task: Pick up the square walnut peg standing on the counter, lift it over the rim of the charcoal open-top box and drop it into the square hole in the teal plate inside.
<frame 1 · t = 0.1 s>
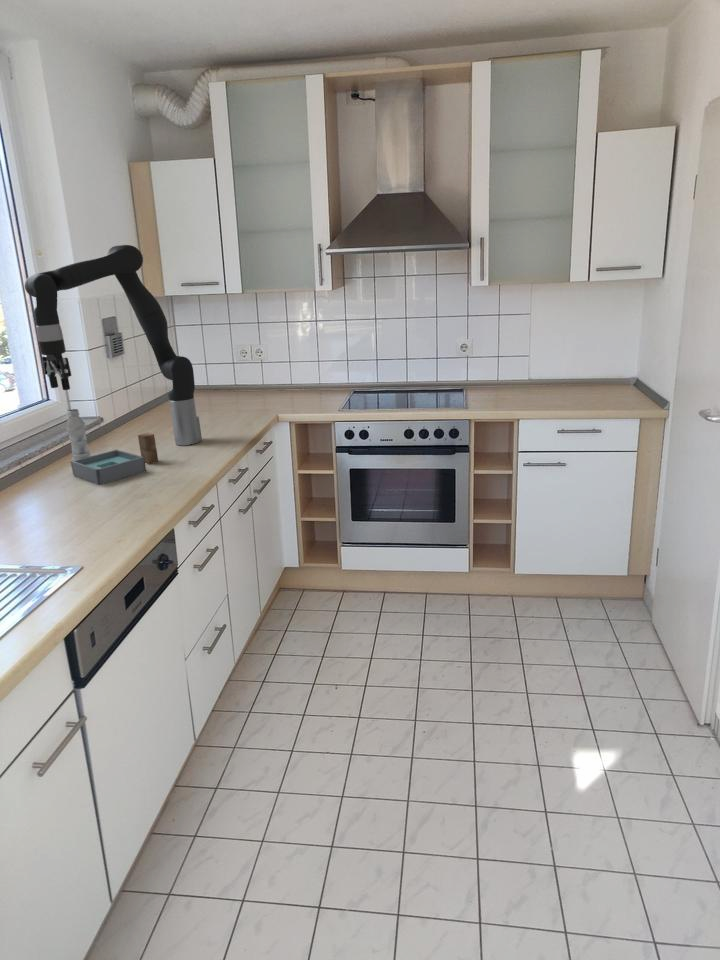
hand: (60, 388, 232), 29 cm above the countertop, tool pointing down, fingers open, 8 cm apart
plastic bottle: (83, 466, 250), on the countertop
peg: (150, 462, 249), on the countertop
box: (109, 473, 238), on the countertop
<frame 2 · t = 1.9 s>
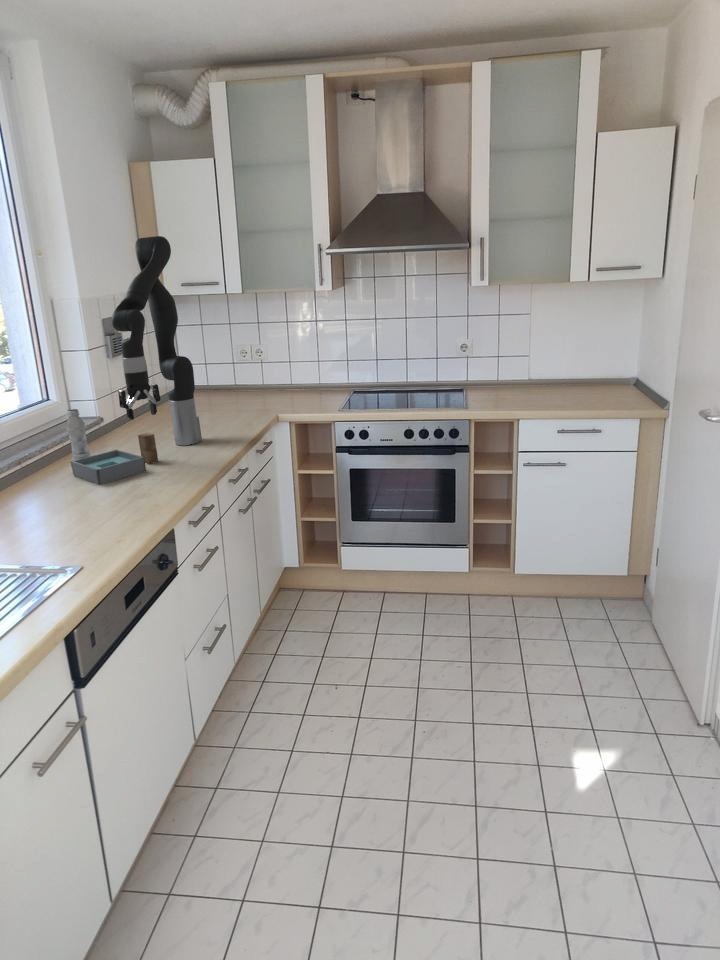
hand: (142, 416, 244), 16 cm above the countertop, tool pointing down, fingers open, 8 cm apart
nothing on the countertop moved.
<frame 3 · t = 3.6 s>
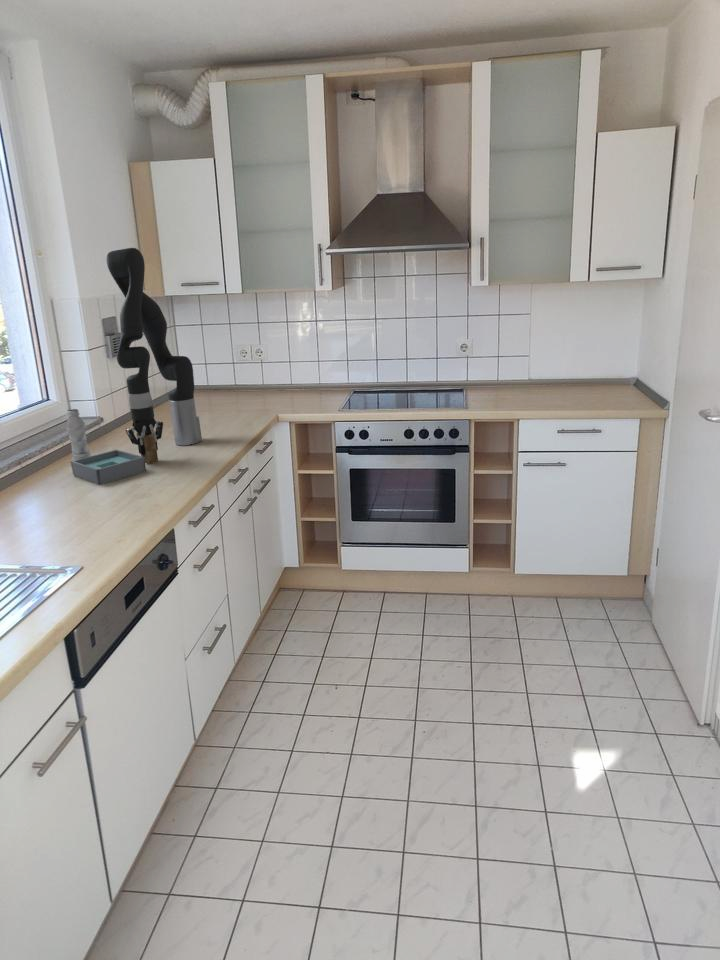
hand: (148, 453, 248), 3 cm above the countertop, tool pointing down, fingers closed on peg, 4 cm apart
peg: (150, 462, 249), on the countertop, touching gripper
everything else where it was.
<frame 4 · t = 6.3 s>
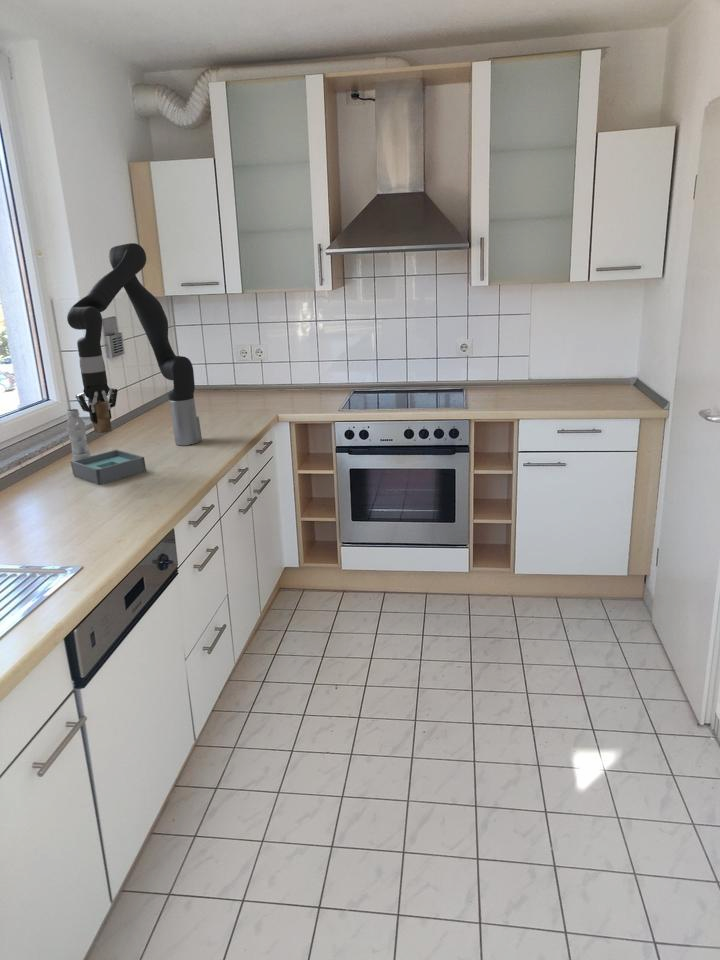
hand: (101, 421, 233), 18 cm above the countertop, tool pointing down, fingers closed on peg, 4 cm apart
peg: (103, 431, 234), point 15 cm above the countertop, touching gripper
everything else where it was.
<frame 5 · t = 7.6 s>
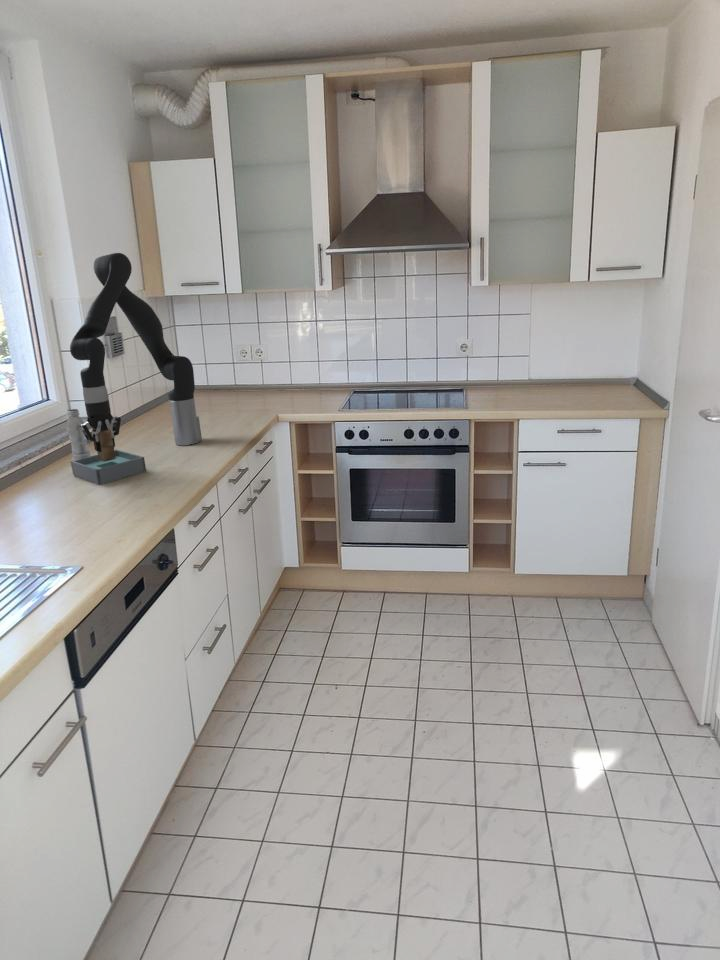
hand: (105, 450, 236), 8 cm above the countertop, tool pointing down, fingers closed on peg, 4 cm apart
peg: (107, 459, 237), point 5 cm above the countertop, touching gripper
everything else where it was.
when the fingers open (4 cm above the countertop, at t = 8.8 s): peg stays where it is, resting in box.
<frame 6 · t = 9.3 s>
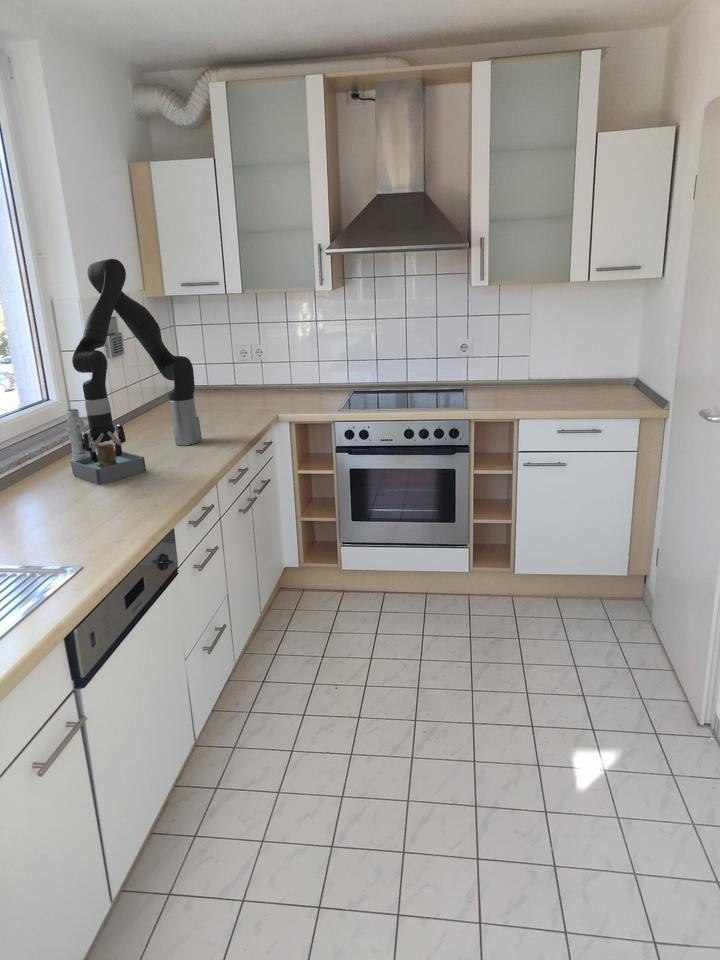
hand: (107, 459, 237), 5 cm above the countertop, tool pointing down, fingers open, 8 cm apart
peg: (109, 473, 238), resting in box
everything else where it was.
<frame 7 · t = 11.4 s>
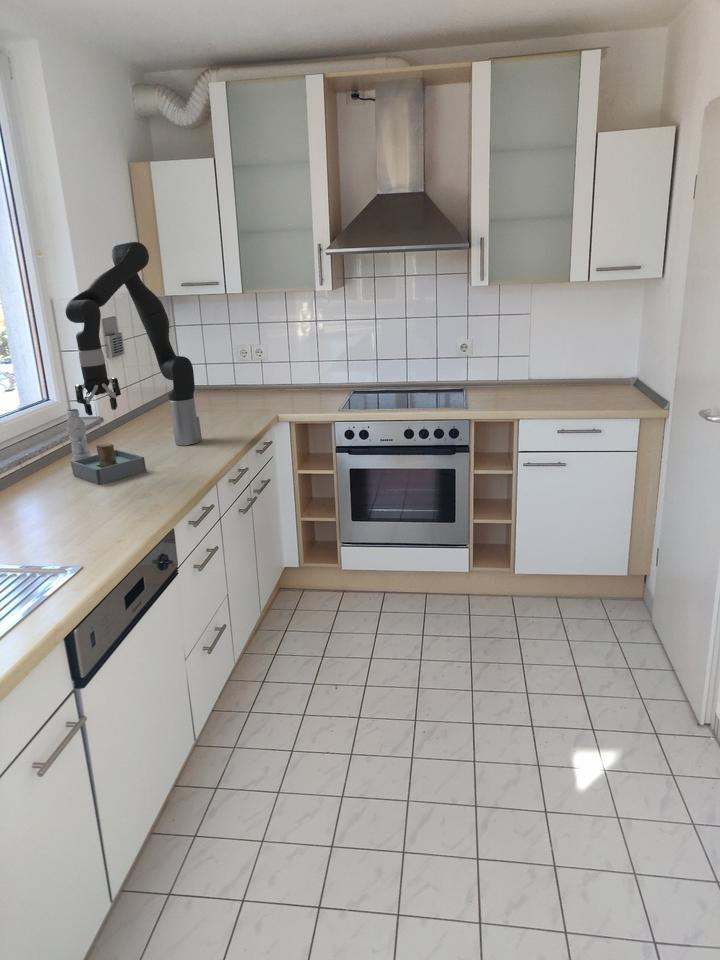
hand: (102, 412, 233), 21 cm above the countertop, tool pointing down, fingers open, 8 cm apart
nothing on the countertop moved.
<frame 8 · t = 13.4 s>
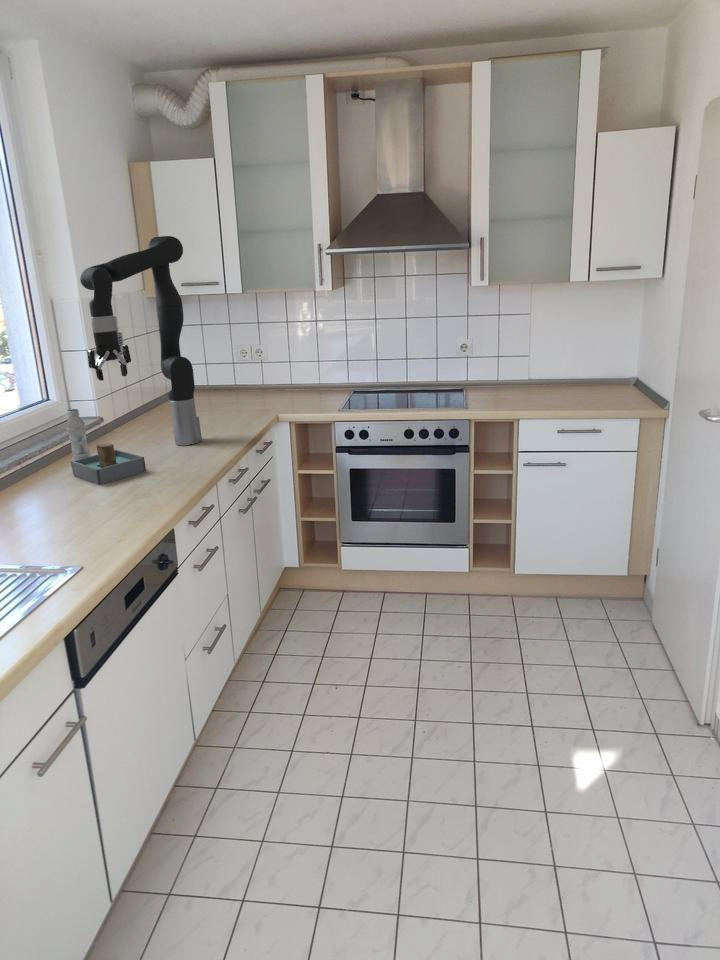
hand: (112, 378, 241), 30 cm above the countertop, tool pointing down, fingers open, 8 cm apart
nothing on the countertop moved.
at the end: peg 0.0 cm off-centre on the box, point 0.0 cm above the box's base; peg tilted 0°; the gripper is holding nothing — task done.
